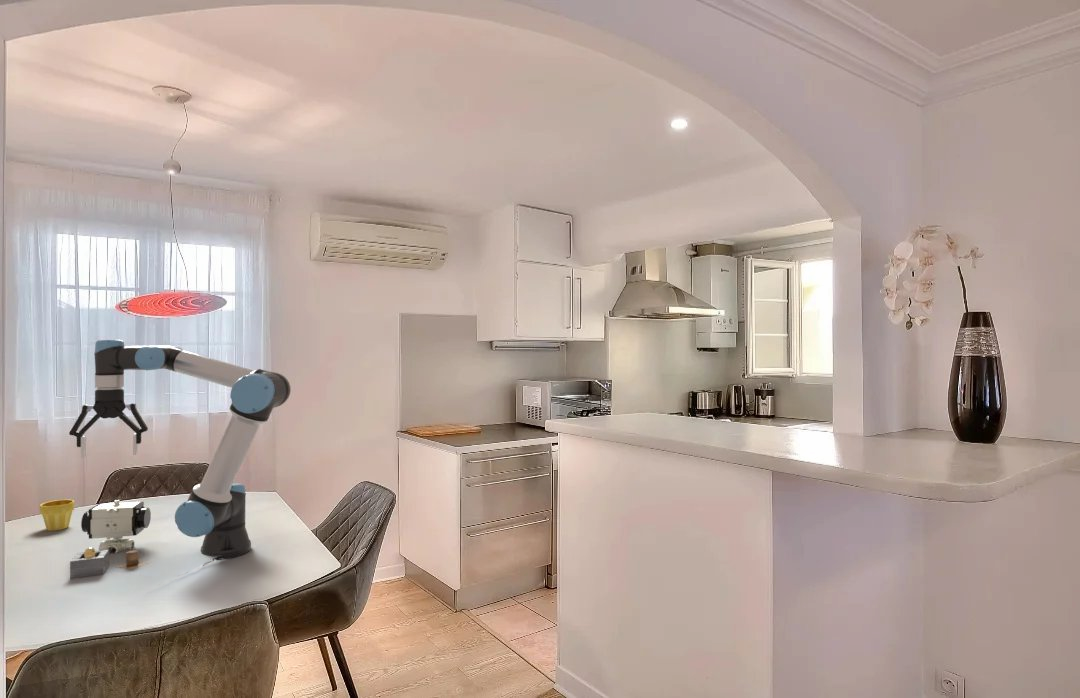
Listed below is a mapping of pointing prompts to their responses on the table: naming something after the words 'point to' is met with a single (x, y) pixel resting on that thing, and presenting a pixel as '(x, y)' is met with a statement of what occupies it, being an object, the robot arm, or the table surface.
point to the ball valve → (116, 523)
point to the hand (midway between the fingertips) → (109, 455)
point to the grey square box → (89, 564)
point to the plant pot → (57, 514)
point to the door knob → (89, 553)
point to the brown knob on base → (132, 560)
